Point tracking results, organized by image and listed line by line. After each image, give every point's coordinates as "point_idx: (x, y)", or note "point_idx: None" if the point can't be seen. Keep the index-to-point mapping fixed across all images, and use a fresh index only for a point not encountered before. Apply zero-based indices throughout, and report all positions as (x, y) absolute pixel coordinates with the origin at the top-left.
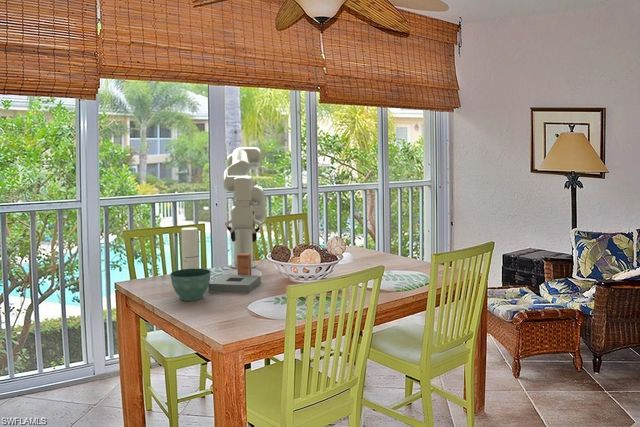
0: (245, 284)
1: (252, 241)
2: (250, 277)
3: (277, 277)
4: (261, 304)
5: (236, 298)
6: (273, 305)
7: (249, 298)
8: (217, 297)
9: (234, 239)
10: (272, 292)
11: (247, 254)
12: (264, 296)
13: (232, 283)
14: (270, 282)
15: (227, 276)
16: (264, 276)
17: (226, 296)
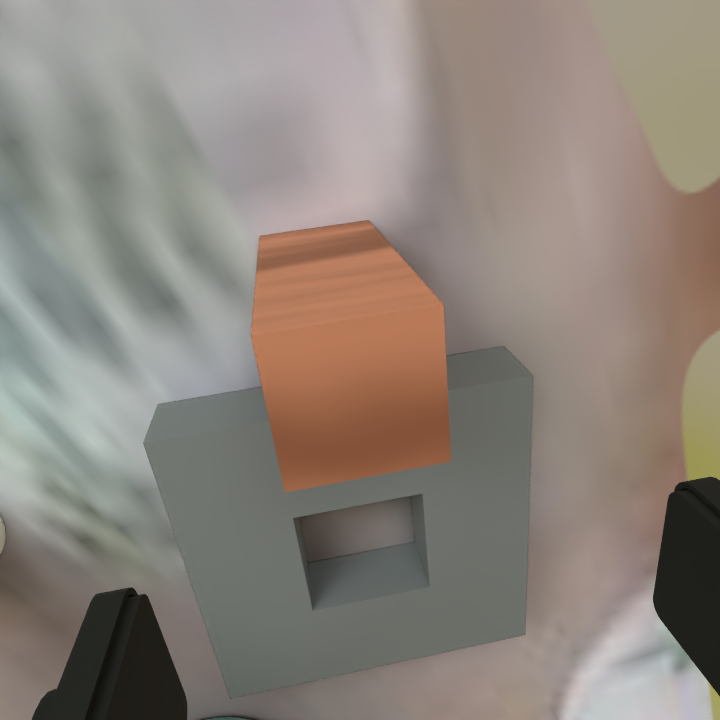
0: (496, 629)
1: (657, 608)
2: (465, 462)
3: (609, 84)
4: (617, 700)
5: (465, 678)
6: (674, 692)
7: (534, 655)
8: (354, 700)
9: (162, 689)
10: (638, 527)
11: (417, 399)
12: (606, 603)
13: (397, 640)
14: (578, 298)
15: (247, 497)
16: (464, 75)
17: (395, 672)
